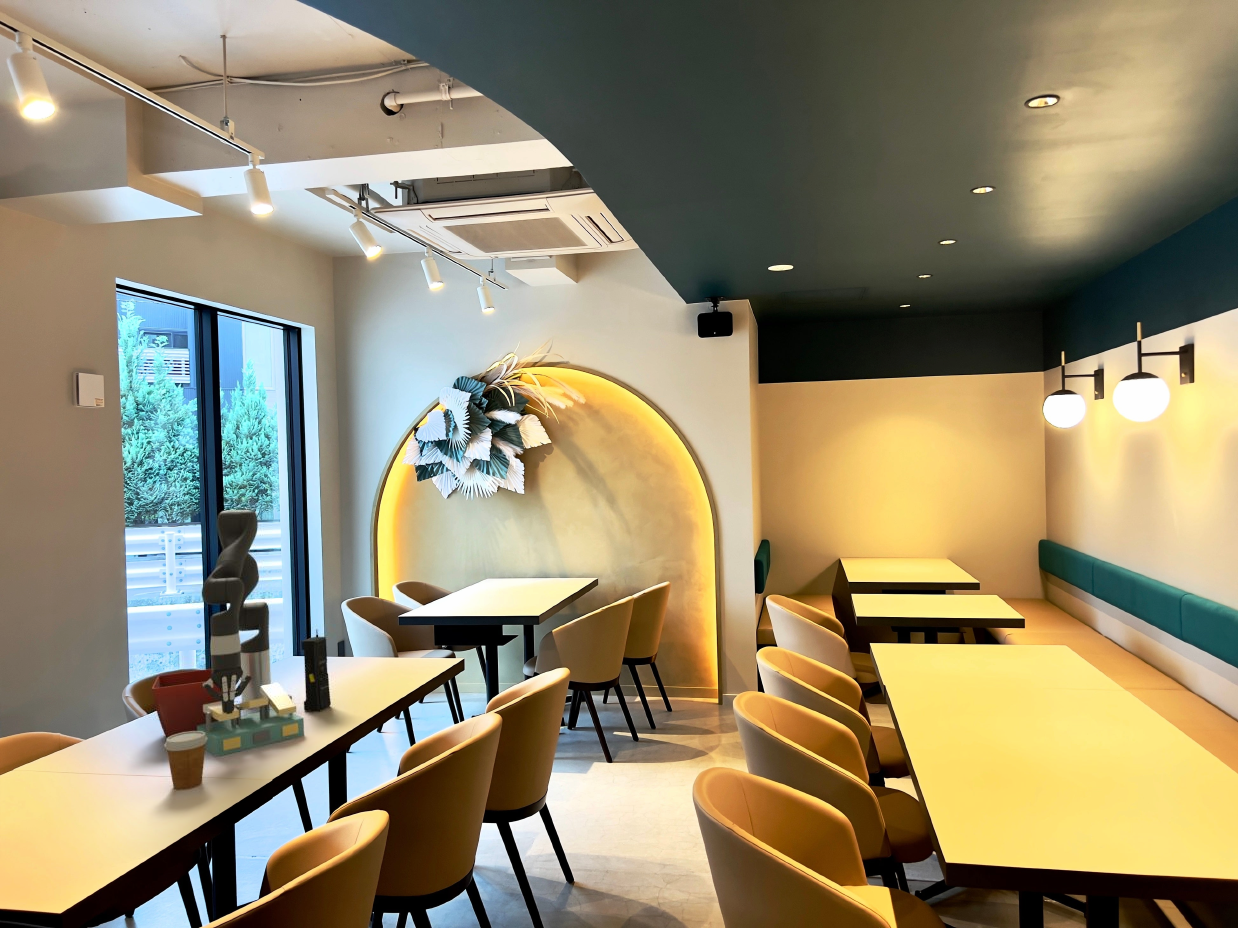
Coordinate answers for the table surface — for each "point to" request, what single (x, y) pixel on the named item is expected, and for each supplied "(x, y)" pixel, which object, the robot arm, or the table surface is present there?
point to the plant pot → (182, 700)
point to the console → (250, 730)
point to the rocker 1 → (219, 711)
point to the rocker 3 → (278, 699)
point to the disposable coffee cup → (186, 758)
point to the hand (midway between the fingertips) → (228, 713)
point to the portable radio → (316, 674)
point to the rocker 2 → (253, 703)
